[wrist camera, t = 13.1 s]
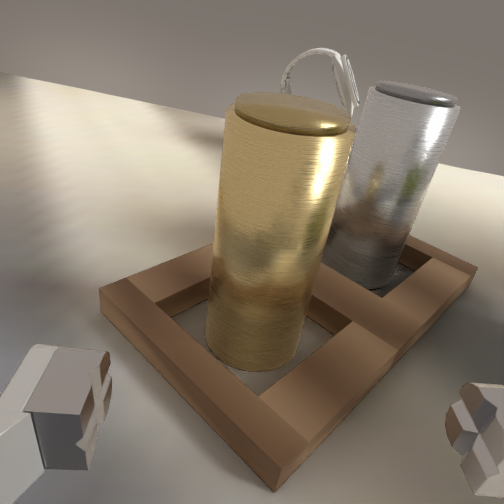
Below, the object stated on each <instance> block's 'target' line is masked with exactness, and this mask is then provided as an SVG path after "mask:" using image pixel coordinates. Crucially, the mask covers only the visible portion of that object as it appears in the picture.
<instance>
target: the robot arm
mask: <svg viewBox="0 0 504 504" xmlns="http://www.w3.org/2000/svg"><path fill="white" fill-rule="evenodd" d="M109 366H110V354H109V352H107V351H99V350H90V349H81V348H72V347H63V346H51V345H42V344H35V345H34V346H33V347H32V348H31V349H30V350H29V351H28V353H27V354H26V356H25V357H24V359H23V361H22V362H21V364H20V366H19V367H18V369H17V370H16V372H15V374H14V375H13V377H12V379H11V380H10V382H9V383H8V385H7V387H6V388H5V390H4V392H3V393H2V395H1V396H0V504H13V503H14V502H15V501H16V500H17V499H18V498H19V497H20V496H21V495H22V494H23V493H24V492H25V491H26V490H27V489H28V488H29V487H30V486H31V485H32V484H33V483H34V482H35V481H36V480H37V479H38V478H39V477H40V476H41V475H42V474H43V473H44V469H62V470H88V469H89V466H90V463H91V460H92V457H93V454H94V451H95V448H96V445H97V442H98V432H97V427H98V426H99V425H100V424H101V423H102V422H104V421H105V418H106V415H107V412H108V408H109V404H110V399H111V392H112V377H111V376H110V375H109V374H108V373H107V372H108V369H109ZM459 395H460V397H461V400H459V401H457V402H455V403H454V404H452V405H451V406H450V408H449V410H448V412H447V413H446V422H445V427H446V432H447V436H448V438H449V441H450V443H451V445H452V447H453V448H454V449H455V450H457V451H458V452H459V453H460V454H461V455H462V460H461V468H462V470H463V472H464V474H465V476H466V478H467V481H468V483H469V485H470V487H471V489H472V492H473V494H474V495H479V496H489V497H500V498H504V385H497V384H484V383H471V382H469V383H467V384H465V385H464V386H463V387H462V389H461V390H460V392H459Z"/></svg>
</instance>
